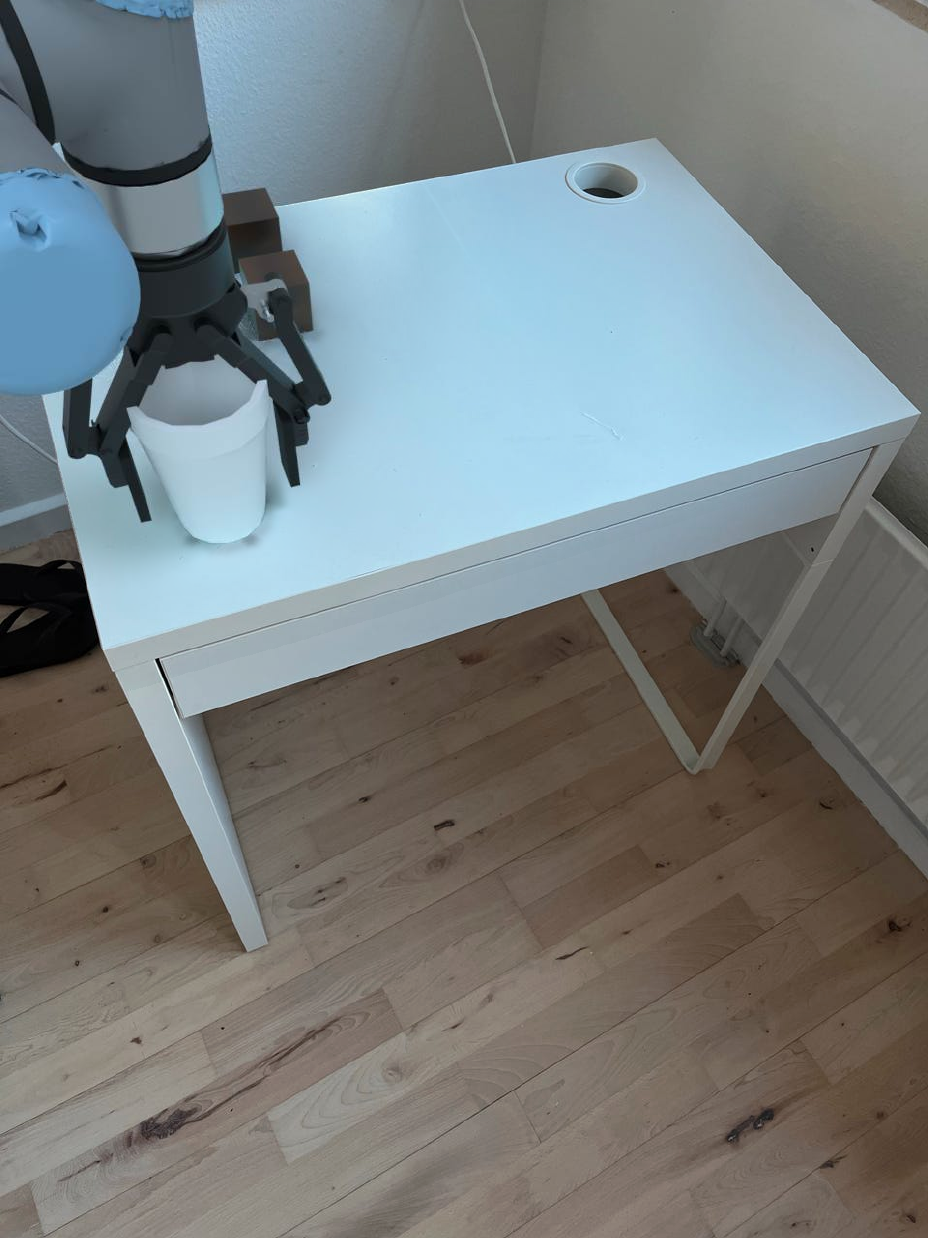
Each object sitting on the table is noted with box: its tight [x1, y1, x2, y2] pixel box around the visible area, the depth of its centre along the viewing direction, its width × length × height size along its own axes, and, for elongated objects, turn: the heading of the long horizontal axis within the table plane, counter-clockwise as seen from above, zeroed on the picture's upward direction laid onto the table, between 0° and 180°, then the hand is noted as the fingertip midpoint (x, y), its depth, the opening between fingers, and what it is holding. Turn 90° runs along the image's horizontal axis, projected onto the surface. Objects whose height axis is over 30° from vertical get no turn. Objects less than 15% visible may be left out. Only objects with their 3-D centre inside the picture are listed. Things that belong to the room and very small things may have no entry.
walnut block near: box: [238, 249, 314, 341], centre depth 83 cm, size 5×5×5 cm
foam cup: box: [127, 354, 272, 544], centre depth 67 cm, size 10×9×13 cm
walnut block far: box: [221, 187, 284, 274], centre depth 88 cm, size 5×5×5 cm
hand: (218, 490), depth 70 cm, fingers open, 10 cm apart
